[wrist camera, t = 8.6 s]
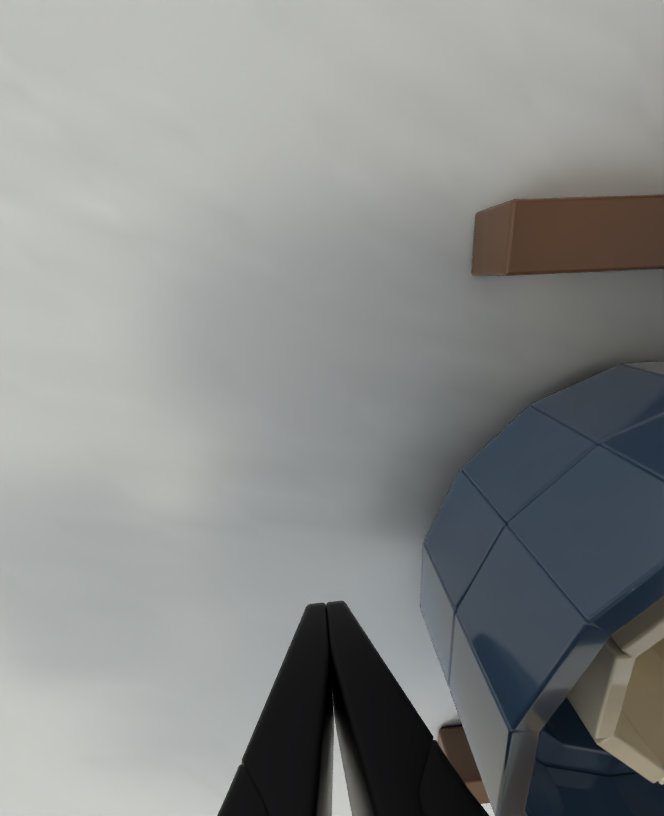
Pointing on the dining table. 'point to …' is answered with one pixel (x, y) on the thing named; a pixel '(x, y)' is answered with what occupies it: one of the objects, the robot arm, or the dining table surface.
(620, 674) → the small bowl
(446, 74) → the dining table surface
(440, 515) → the blue-grey round ring piece
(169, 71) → the dining table surface
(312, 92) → the dining table surface
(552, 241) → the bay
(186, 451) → the dining table surface
